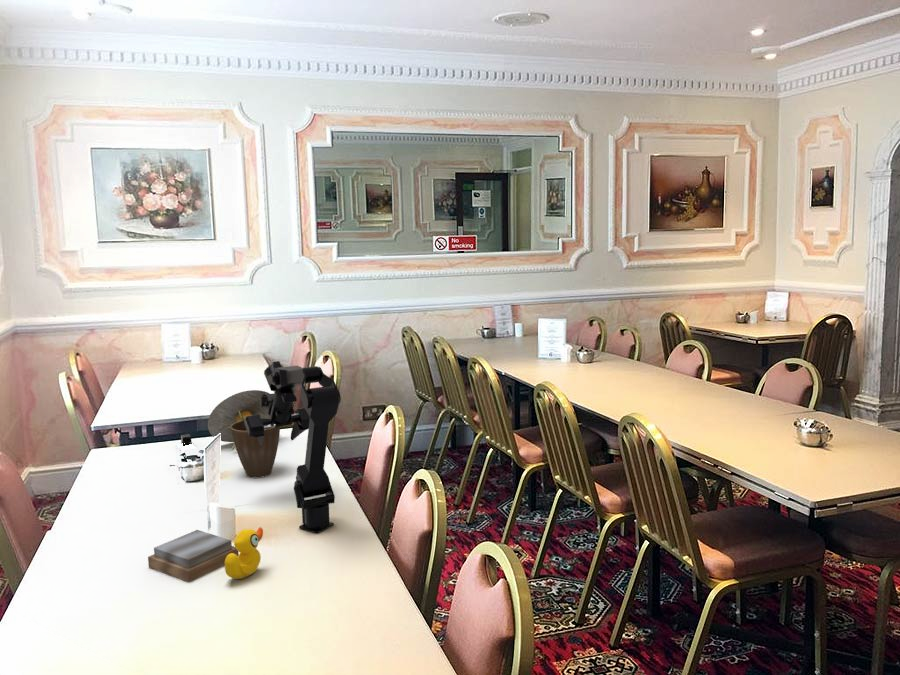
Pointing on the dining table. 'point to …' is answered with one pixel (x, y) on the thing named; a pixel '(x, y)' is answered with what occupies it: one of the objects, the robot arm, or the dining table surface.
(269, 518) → the dining table surface
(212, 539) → the metal-topped wooden square
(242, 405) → the grey brimmed hat
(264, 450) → the plant pot
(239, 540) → the duckling
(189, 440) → the black block
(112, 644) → the dining table surface
